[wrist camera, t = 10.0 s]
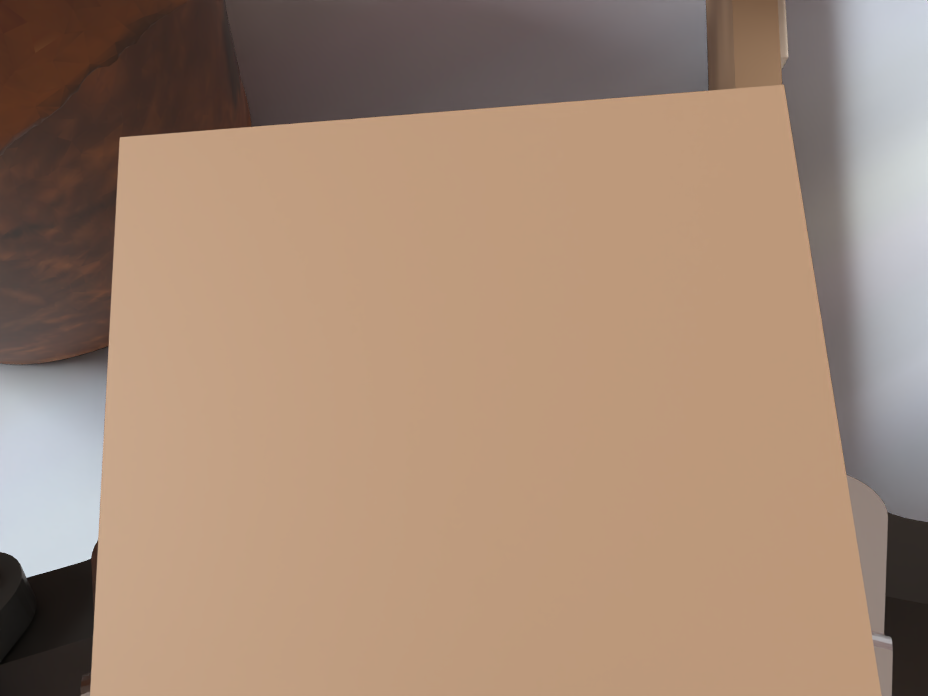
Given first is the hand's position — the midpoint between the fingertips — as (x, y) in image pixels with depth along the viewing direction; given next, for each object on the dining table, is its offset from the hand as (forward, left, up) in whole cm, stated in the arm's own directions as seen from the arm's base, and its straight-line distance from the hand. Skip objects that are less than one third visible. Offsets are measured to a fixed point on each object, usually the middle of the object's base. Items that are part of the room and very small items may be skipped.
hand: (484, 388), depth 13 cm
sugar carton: (-2, 0, -5) cm, 6 cm away
